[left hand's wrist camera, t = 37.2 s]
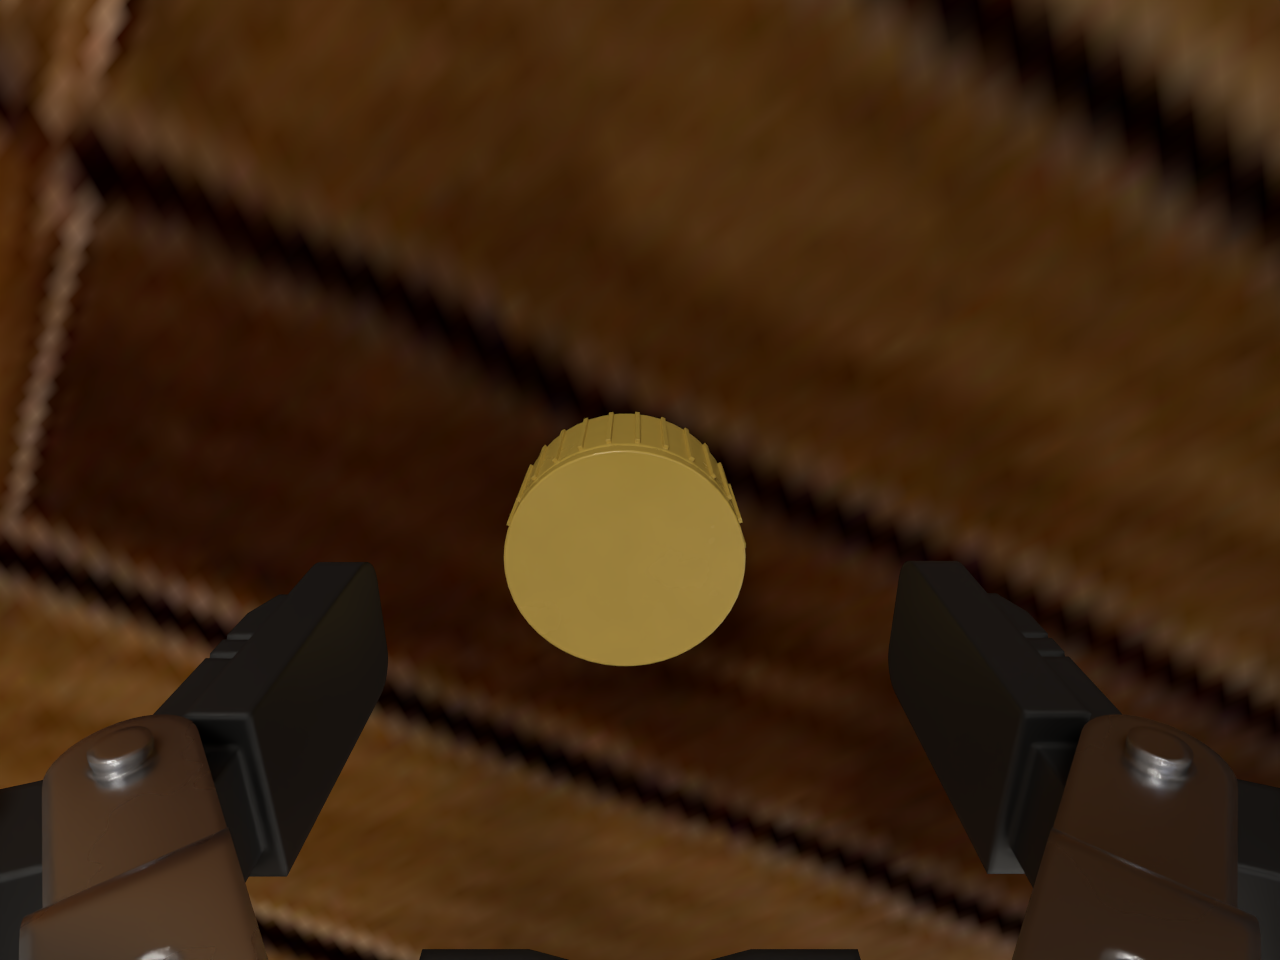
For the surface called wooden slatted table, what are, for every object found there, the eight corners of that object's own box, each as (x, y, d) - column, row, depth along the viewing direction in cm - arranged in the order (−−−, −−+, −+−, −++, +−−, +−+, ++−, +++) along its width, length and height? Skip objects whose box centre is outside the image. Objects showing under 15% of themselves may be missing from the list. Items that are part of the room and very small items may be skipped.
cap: (672, 634, 16) (678, 702, 14) (487, 556, 15) (462, 614, 13) (771, 466, 15) (795, 513, 12) (572, 372, 14) (561, 404, 12)
